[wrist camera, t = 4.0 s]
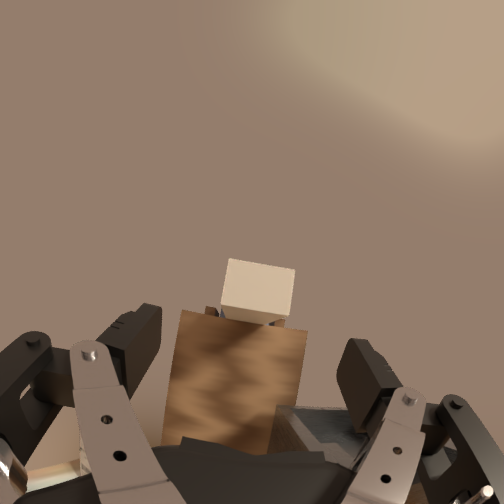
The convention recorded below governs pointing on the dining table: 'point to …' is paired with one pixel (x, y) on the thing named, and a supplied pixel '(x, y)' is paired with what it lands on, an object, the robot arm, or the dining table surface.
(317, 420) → the tray
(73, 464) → the dining table surface
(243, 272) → the cream rectangular block
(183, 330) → the stand
